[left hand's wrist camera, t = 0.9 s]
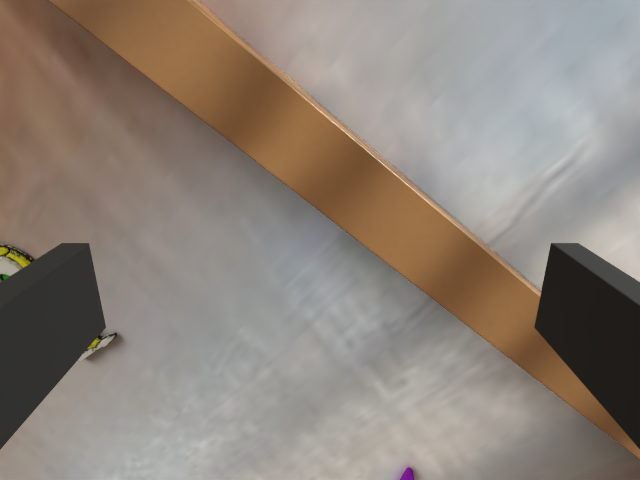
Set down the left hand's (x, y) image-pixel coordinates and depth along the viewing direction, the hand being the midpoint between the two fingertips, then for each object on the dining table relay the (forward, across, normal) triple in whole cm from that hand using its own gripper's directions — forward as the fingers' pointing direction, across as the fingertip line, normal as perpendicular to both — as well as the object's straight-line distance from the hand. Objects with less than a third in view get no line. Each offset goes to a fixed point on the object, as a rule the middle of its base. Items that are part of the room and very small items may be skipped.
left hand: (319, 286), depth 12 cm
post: (+25, +10, -8) cm, 28 cm away
